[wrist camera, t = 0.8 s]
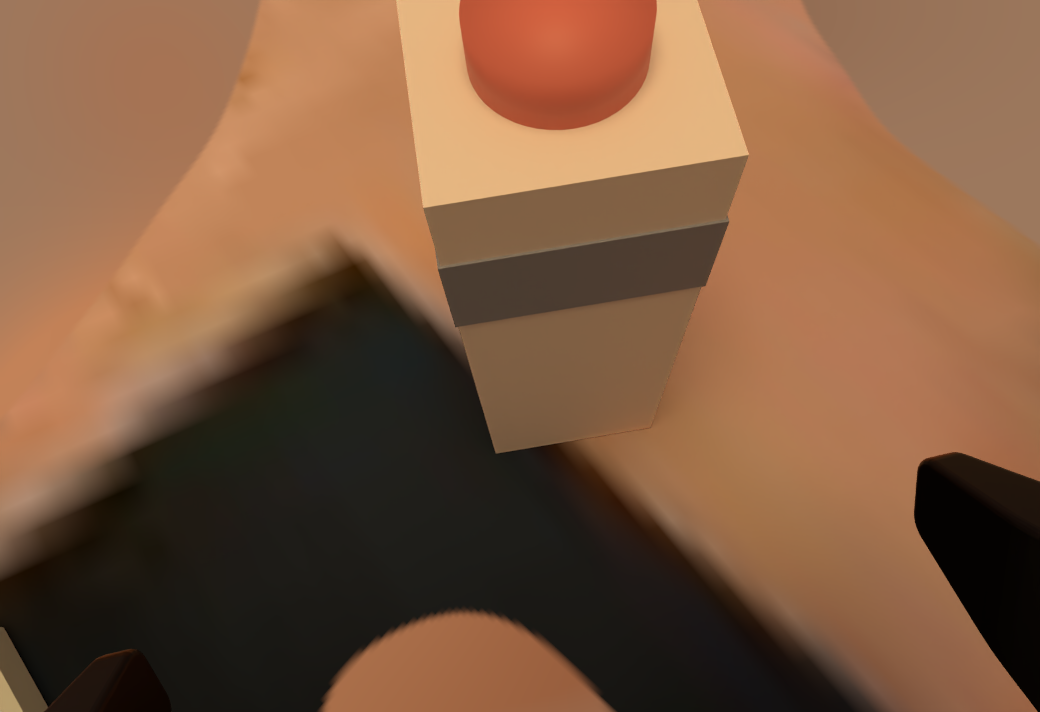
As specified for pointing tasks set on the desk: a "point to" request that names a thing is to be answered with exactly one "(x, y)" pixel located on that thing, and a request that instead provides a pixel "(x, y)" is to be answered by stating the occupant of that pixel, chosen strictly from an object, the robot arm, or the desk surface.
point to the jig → (16, 681)
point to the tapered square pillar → (570, 197)
